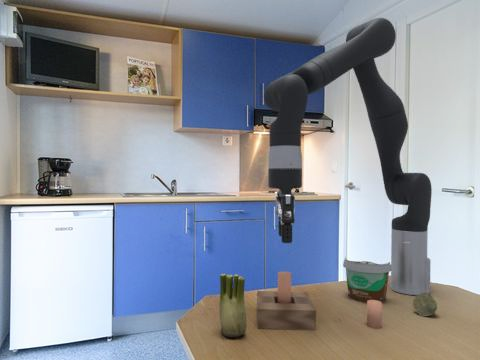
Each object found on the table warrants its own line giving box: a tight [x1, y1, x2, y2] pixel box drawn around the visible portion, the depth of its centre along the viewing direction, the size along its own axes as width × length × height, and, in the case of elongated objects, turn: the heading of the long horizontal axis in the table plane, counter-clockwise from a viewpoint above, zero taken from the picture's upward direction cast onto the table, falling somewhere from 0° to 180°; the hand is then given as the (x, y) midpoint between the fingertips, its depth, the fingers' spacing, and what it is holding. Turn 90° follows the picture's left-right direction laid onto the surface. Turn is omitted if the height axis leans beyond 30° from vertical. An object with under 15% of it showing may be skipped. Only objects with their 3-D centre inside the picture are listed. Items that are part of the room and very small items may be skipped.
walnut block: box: [256, 290, 317, 331], centre depth 80 cm, size 12×12×4 cm
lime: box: [412, 293, 438, 317], centre depth 83 cm, size 4×5×5 cm
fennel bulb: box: [219, 273, 248, 338], centre depth 71 cm, size 6×5×12 cm
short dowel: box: [366, 300, 383, 329], centre depth 76 cm, size 3×3×5 cm
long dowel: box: [277, 271, 292, 303], centre depth 80 cm, size 3×3×10 cm
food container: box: [342, 257, 392, 304], centre depth 92 cm, size 12×6×10 cm, turn 62°
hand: (285, 239), depth 80 cm, fingers open, 8 cm apart
